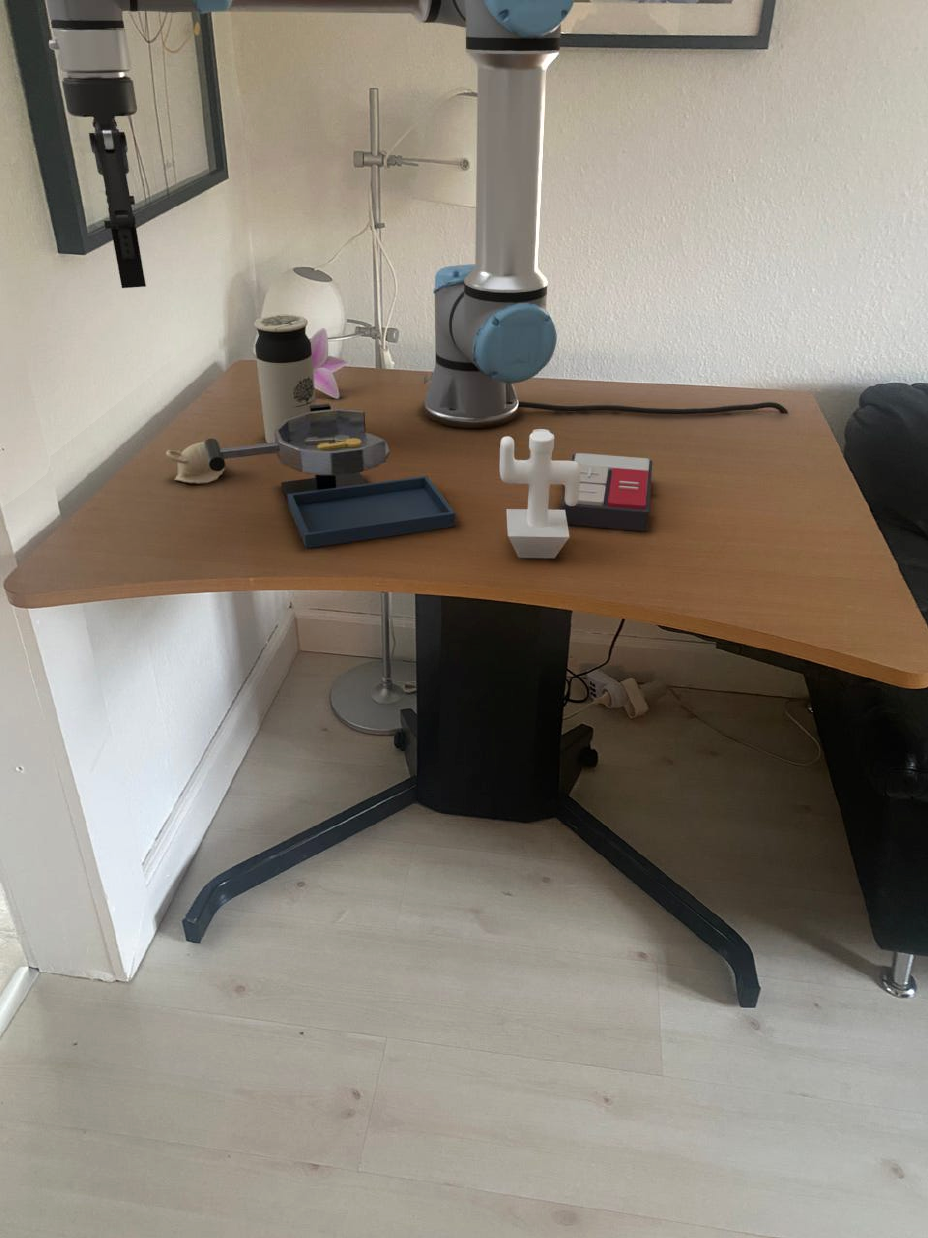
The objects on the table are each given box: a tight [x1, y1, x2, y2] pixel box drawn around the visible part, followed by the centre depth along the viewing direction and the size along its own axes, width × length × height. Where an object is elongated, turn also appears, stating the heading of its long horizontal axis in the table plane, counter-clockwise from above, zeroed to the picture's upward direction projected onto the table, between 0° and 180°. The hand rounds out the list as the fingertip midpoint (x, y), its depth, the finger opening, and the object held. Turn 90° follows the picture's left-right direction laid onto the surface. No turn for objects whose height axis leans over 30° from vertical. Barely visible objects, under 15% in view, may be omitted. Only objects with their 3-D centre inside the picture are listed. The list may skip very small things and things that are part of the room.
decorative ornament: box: [165, 441, 226, 485], centre depth 132 cm, size 4×8×5 cm, turn 129°
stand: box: [280, 403, 367, 503], centre depth 127 cm, size 11×5×12 cm, turn 109°
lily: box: [309, 327, 348, 400], centre depth 162 cm, size 12×12×10 cm
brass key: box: [317, 438, 361, 450], centre depth 119 cm, size 6×2×1 cm, turn 113°
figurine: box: [499, 428, 580, 559], centre depth 113 cm, size 7×9×15 cm
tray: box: [287, 475, 456, 549], centre depth 123 cm, size 19×12×2 cm, turn 109°
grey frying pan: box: [204, 408, 390, 476], centre depth 116 cm, size 22×15×3 cm, turn 109°
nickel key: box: [305, 435, 350, 444], centre depth 120 cm, size 6×2×1 cm, turn 101°
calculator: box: [560, 452, 653, 533], centre depth 127 cm, size 11×4×15 cm
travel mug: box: [254, 314, 317, 443], centre depth 141 cm, size 8×8×18 cm
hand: (131, 273), depth 117 cm, fingers open, 13 cm apart
